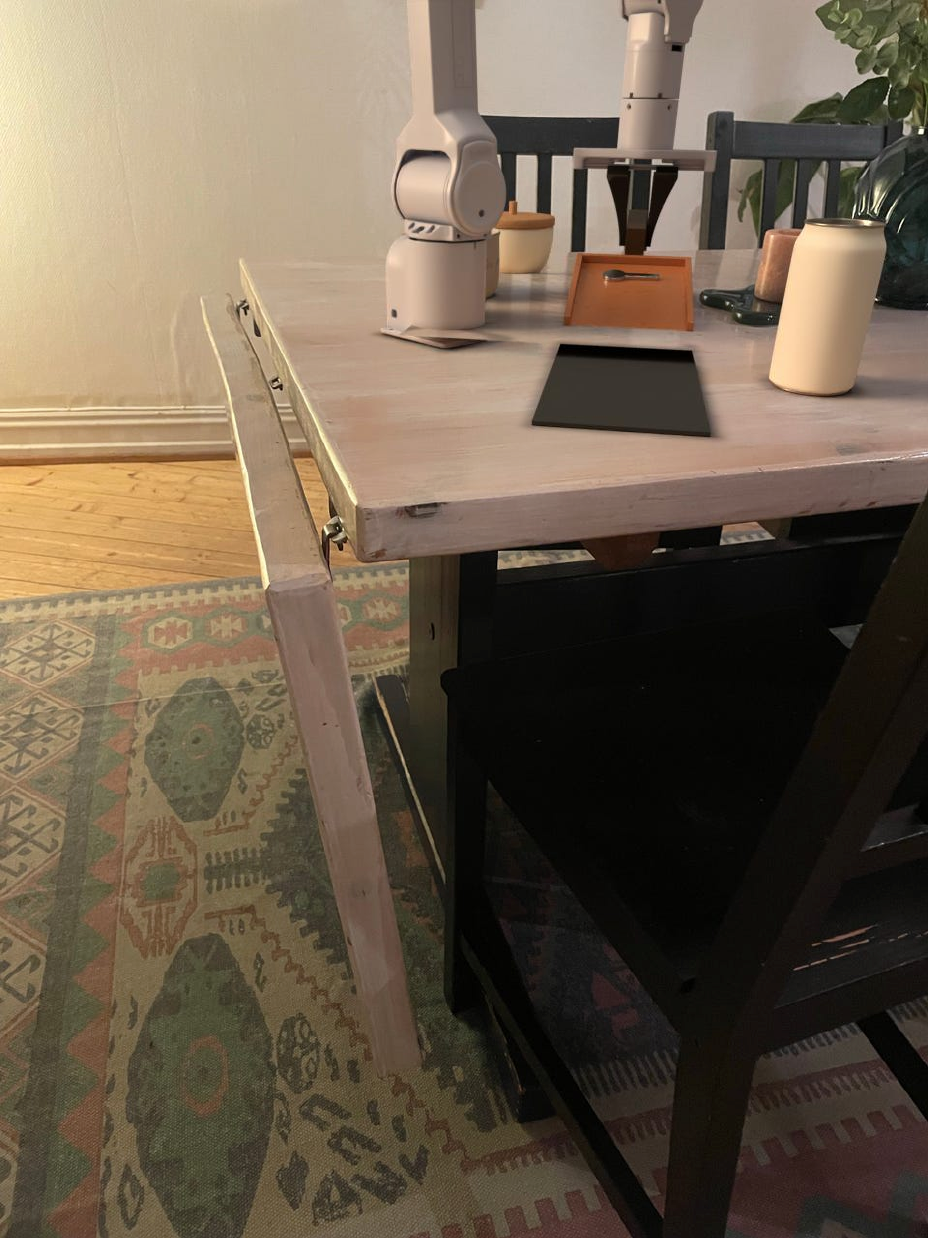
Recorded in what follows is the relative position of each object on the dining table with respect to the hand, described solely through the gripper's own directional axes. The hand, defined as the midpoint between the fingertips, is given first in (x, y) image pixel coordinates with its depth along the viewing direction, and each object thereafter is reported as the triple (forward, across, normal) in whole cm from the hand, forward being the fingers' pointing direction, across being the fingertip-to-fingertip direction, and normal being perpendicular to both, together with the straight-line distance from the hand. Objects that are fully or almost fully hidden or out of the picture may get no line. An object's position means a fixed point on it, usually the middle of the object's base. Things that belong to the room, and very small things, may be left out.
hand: (634, 245), depth 94 cm
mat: (+7, 0, +32) cm, 33 cm away
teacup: (+7, +20, +3) cm, 21 cm away
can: (+7, -15, +30) cm, 34 cm away
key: (+2, 0, +7) cm, 7 cm away
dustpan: (+3, 0, +7) cm, 8 cm away
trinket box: (+7, +16, -17) cm, 24 cm away
